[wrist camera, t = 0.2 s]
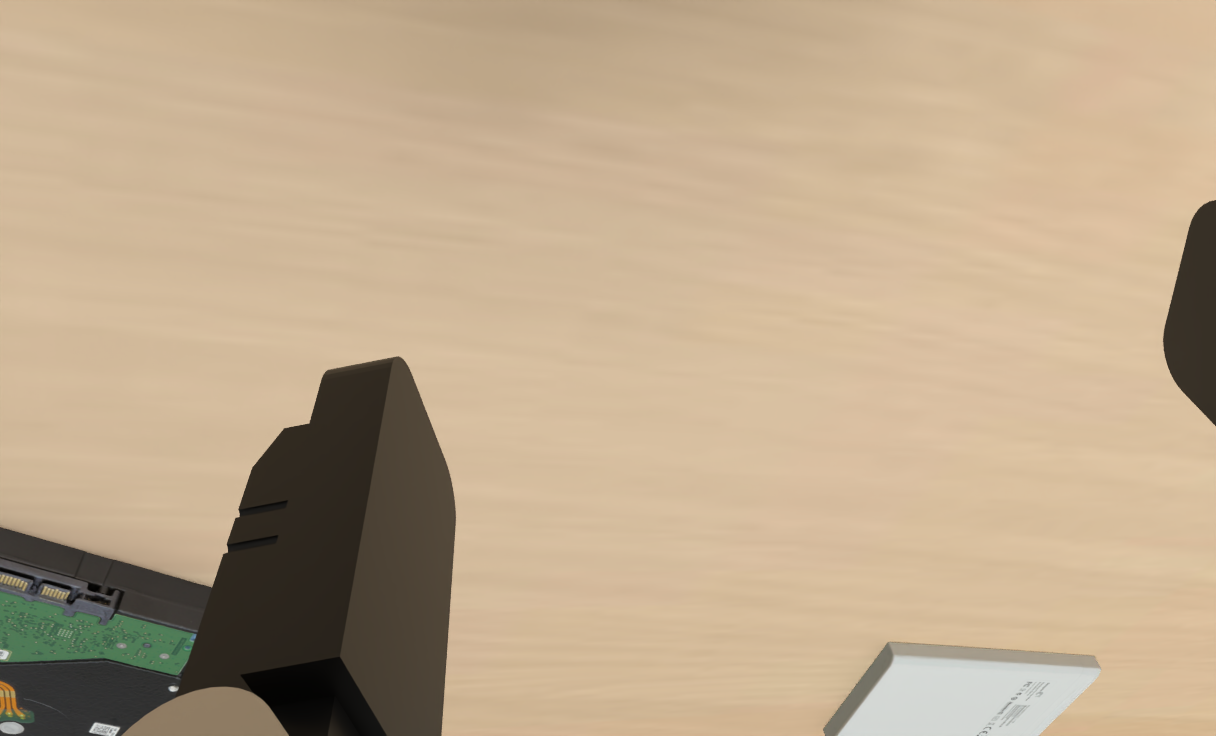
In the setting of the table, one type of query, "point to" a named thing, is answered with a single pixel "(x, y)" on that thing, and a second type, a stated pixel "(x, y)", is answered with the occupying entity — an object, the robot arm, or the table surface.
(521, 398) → the table surface
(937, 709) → the external hard drive
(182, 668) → the disk drive
